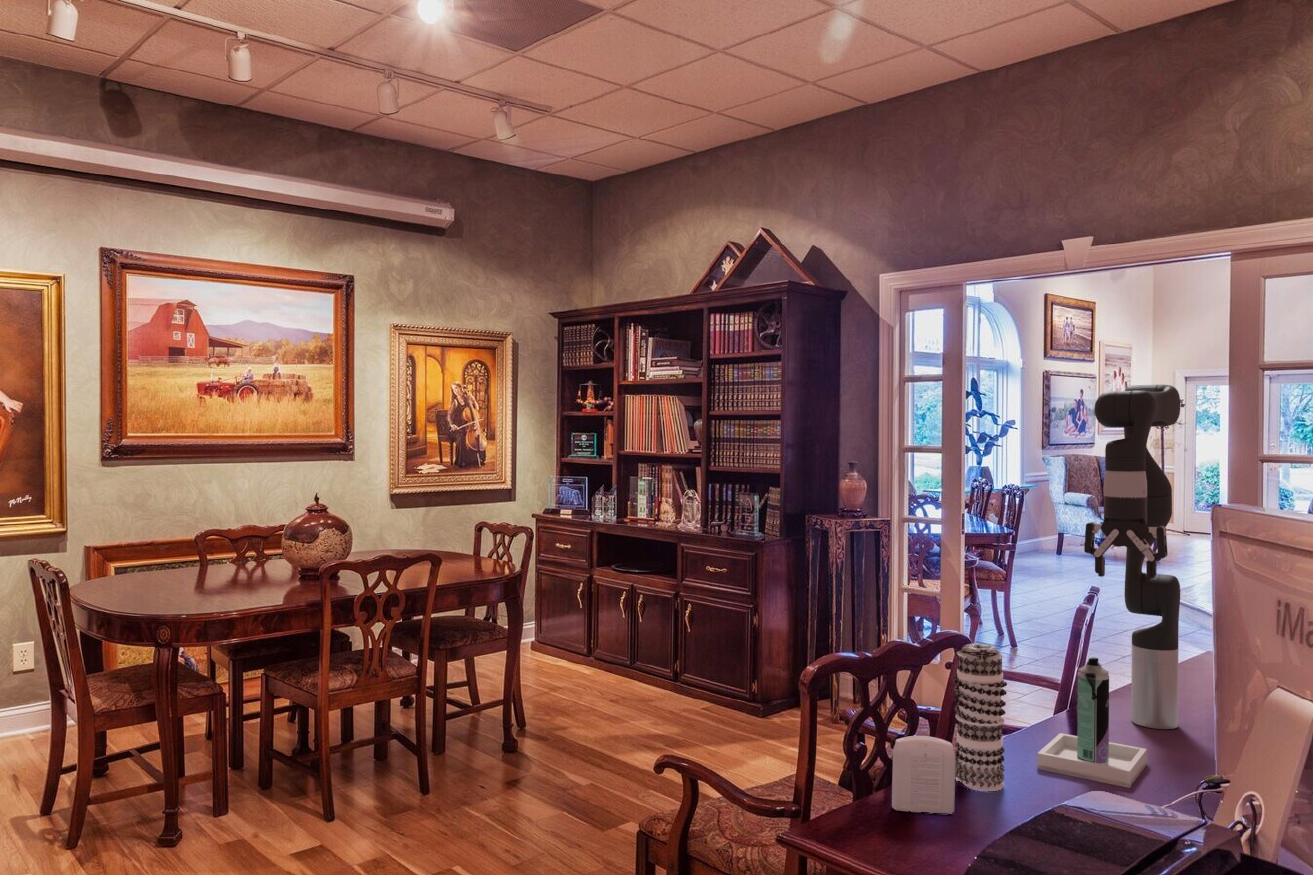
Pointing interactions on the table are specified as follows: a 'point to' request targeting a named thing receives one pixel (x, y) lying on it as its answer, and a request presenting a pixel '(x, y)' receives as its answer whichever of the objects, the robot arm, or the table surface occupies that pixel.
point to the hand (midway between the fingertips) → (1125, 578)
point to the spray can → (1093, 713)
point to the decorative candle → (979, 717)
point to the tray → (1118, 771)
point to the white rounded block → (923, 775)
